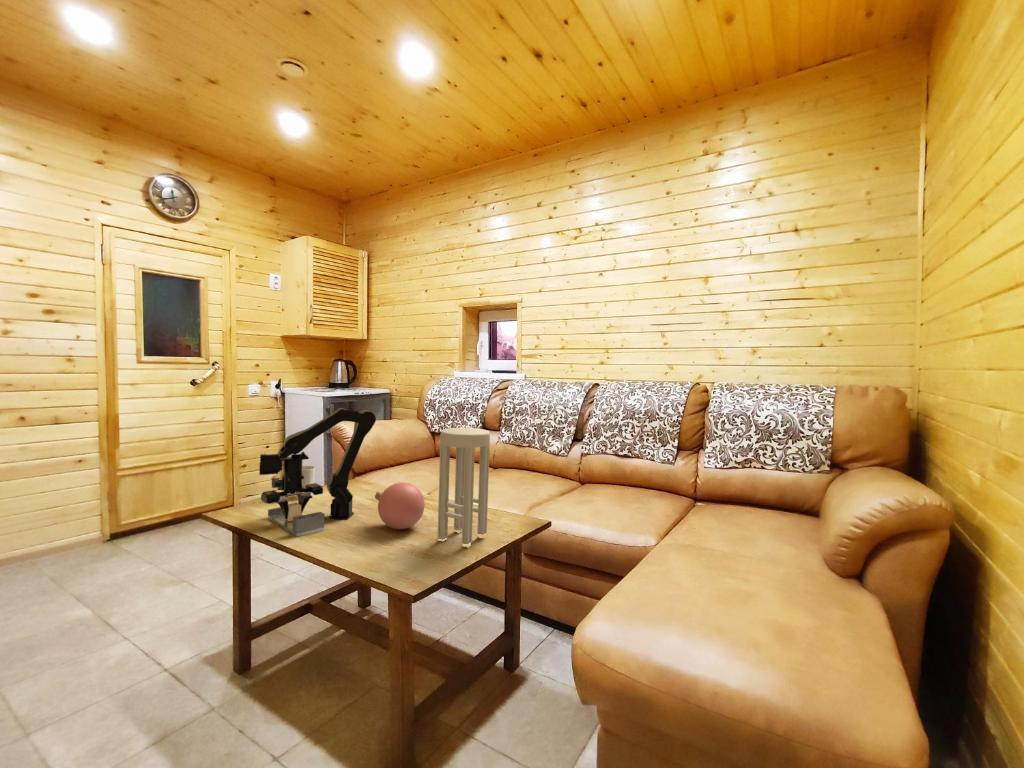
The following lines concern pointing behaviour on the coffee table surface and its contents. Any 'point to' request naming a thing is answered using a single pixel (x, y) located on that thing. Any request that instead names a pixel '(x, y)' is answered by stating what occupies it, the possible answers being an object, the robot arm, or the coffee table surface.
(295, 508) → the cream rectangular block
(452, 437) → the stool
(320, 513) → the gray display stand
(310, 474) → the cup
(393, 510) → the balloon
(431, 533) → the coffee table surface
